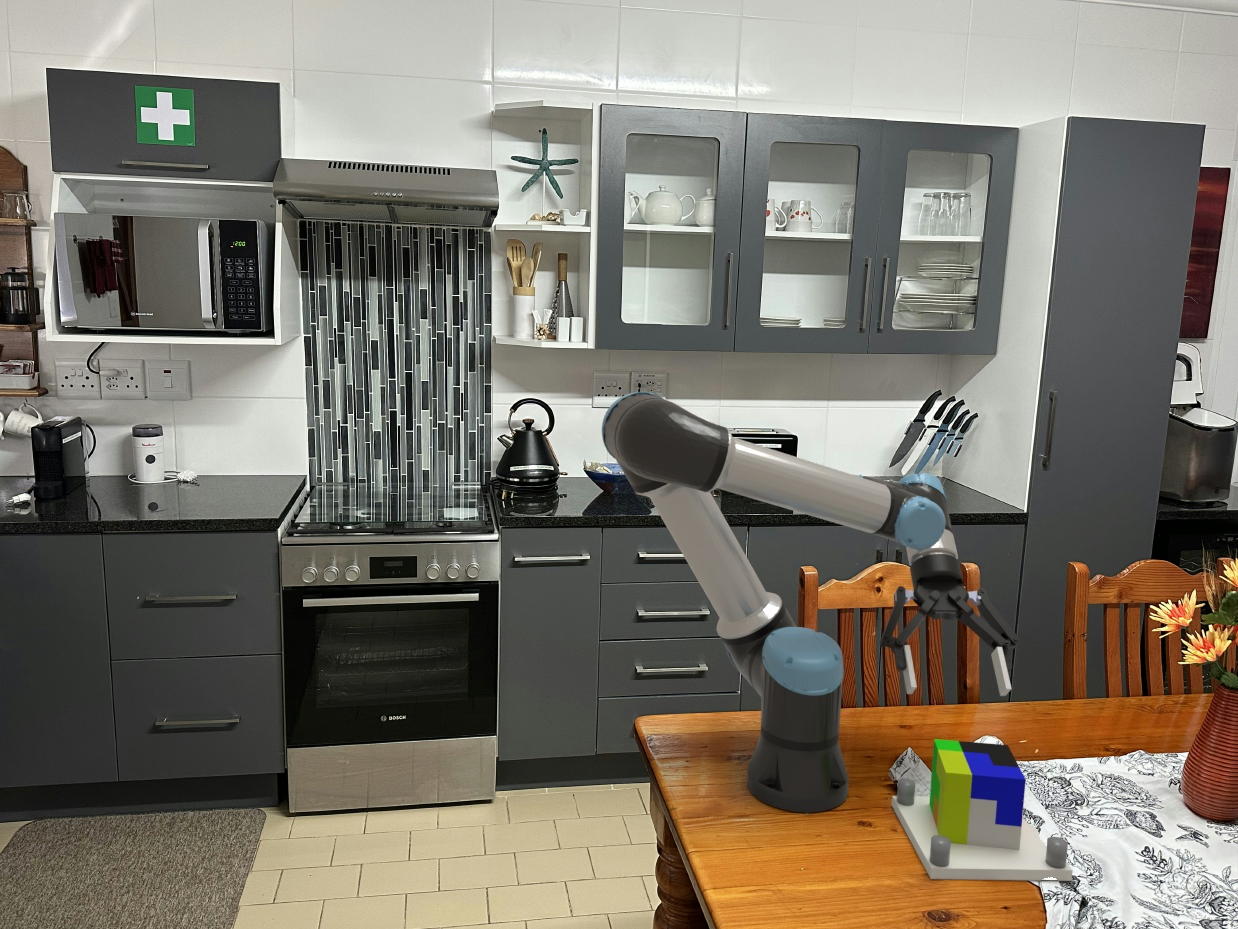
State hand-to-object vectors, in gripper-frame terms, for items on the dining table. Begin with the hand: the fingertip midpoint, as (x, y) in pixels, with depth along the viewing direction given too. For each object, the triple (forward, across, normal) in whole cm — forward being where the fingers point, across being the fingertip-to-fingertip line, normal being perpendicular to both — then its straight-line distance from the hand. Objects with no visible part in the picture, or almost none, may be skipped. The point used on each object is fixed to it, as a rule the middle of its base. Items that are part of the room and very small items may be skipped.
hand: (958, 691), depth 137 cm
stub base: (+20, 0, -5) cm, 20 cm away
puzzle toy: (+18, 0, -5) cm, 18 cm away
